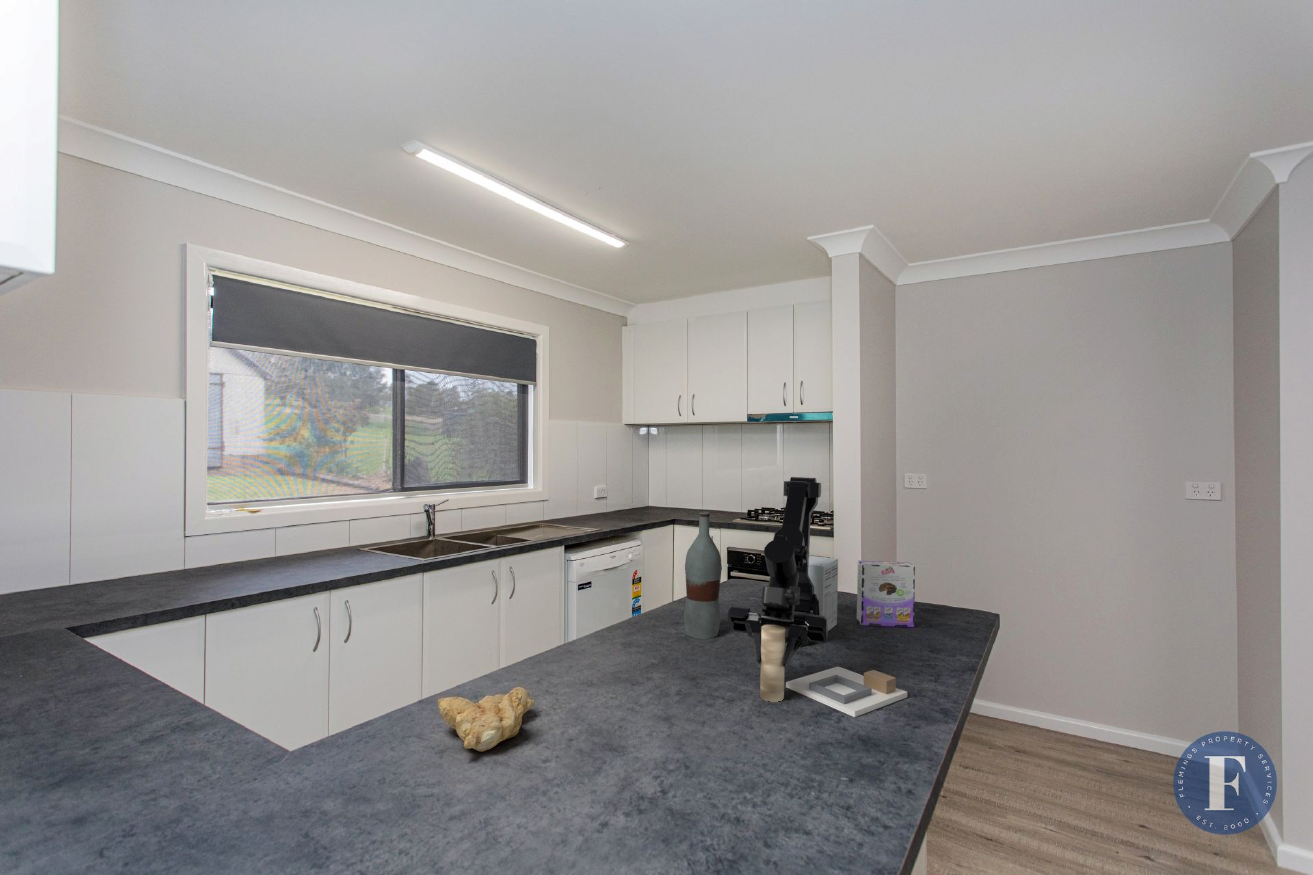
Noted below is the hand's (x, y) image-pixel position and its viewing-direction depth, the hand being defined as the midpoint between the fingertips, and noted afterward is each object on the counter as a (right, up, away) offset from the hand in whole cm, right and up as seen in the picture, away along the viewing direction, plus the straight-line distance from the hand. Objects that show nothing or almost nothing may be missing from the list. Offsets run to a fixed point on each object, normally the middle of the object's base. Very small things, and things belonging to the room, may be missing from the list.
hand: (771, 664), depth 118 cm
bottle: (-10, -7, +39) cm, 41 cm away
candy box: (+40, -8, +52) cm, 66 cm away
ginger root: (-48, -6, -17) cm, 51 cm away
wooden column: (0, -7, +1) cm, 7 cm away
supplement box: (+18, -7, +49) cm, 52 cm away
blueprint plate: (+15, -7, +5) cm, 17 cm away
